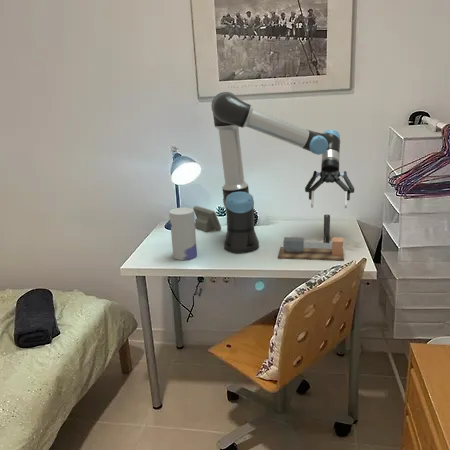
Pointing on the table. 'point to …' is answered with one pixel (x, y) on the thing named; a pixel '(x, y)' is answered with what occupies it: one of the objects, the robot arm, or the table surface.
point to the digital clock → (206, 219)
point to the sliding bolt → (326, 243)
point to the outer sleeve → (293, 245)
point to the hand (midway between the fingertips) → (328, 206)
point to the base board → (311, 254)
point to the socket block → (337, 246)
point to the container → (183, 233)
